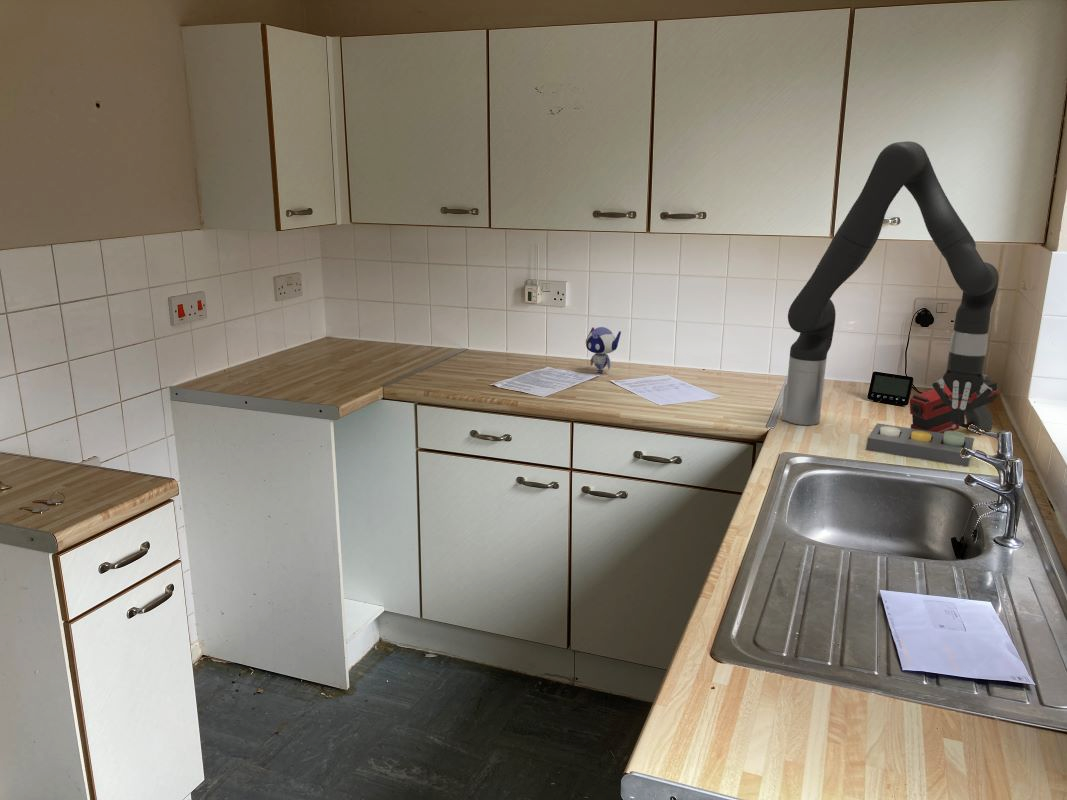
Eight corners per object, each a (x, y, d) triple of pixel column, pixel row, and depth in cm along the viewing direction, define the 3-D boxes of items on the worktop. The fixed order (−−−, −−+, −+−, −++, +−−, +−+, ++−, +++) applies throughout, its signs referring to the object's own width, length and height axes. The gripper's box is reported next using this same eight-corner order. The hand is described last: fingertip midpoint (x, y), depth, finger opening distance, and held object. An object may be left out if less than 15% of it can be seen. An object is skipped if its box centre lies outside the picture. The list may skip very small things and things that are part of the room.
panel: (865, 449, 203) (867, 437, 202) (875, 434, 215) (877, 423, 214) (967, 466, 193) (969, 454, 192) (972, 449, 204) (974, 438, 204)
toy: (577, 373, 272) (579, 327, 268) (594, 367, 280) (595, 323, 276) (606, 378, 267) (608, 331, 262) (622, 372, 274) (624, 327, 270)
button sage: (941, 448, 199) (943, 434, 198) (943, 443, 203) (945, 429, 202) (962, 452, 197) (964, 437, 196) (963, 446, 201) (965, 432, 200)
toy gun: (999, 428, 218) (998, 374, 213) (926, 457, 212) (924, 401, 207) (982, 422, 223) (981, 369, 218) (910, 450, 217) (907, 396, 212)
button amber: (908, 448, 203) (910, 434, 202) (910, 443, 207) (912, 429, 206) (928, 451, 201) (930, 437, 200) (930, 446, 204) (932, 432, 203)
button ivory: (877, 443, 206) (879, 429, 205) (880, 438, 210) (882, 425, 209) (896, 446, 204) (898, 432, 203) (899, 441, 208) (901, 428, 207)
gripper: (934, 350, 194) (923, 423, 198) (999, 357, 187) (987, 432, 192) (937, 345, 200) (927, 415, 205) (1001, 351, 194) (989, 424, 198)
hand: (956, 423), depth 198 cm, fingers closed
